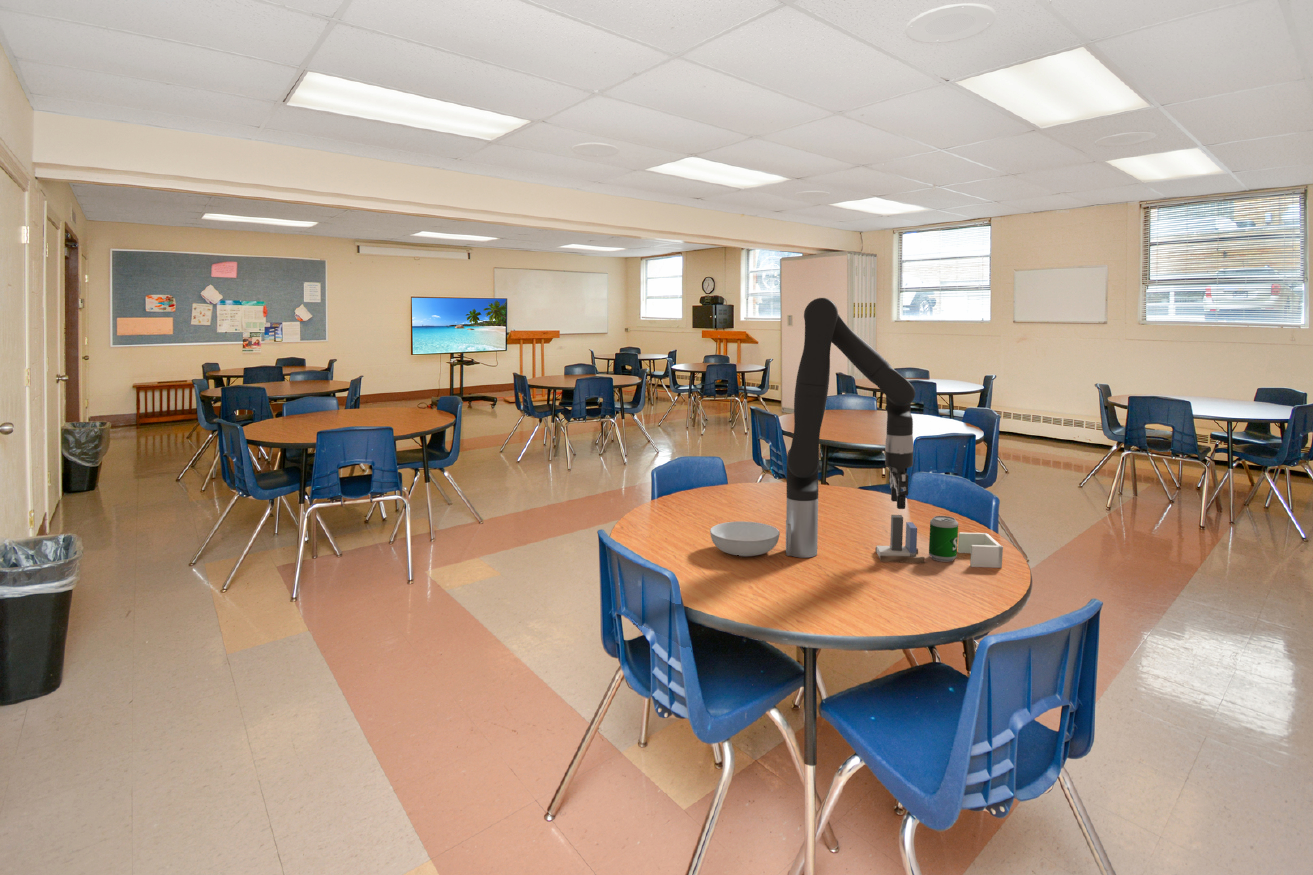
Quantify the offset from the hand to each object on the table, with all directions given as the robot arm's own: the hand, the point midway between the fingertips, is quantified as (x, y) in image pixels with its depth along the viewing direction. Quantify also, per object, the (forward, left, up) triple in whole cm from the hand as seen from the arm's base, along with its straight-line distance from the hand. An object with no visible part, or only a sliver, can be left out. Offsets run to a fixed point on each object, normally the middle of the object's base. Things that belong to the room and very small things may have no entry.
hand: (898, 504), depth 193 cm
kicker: (0, 0, -16) cm, 16 cm away
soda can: (+13, 0, -16) cm, 21 cm away
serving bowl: (-44, +1, -16) cm, 47 cm away
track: (+1, 0, -16) cm, 16 cm away
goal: (+23, 0, -16) cm, 28 cm away
